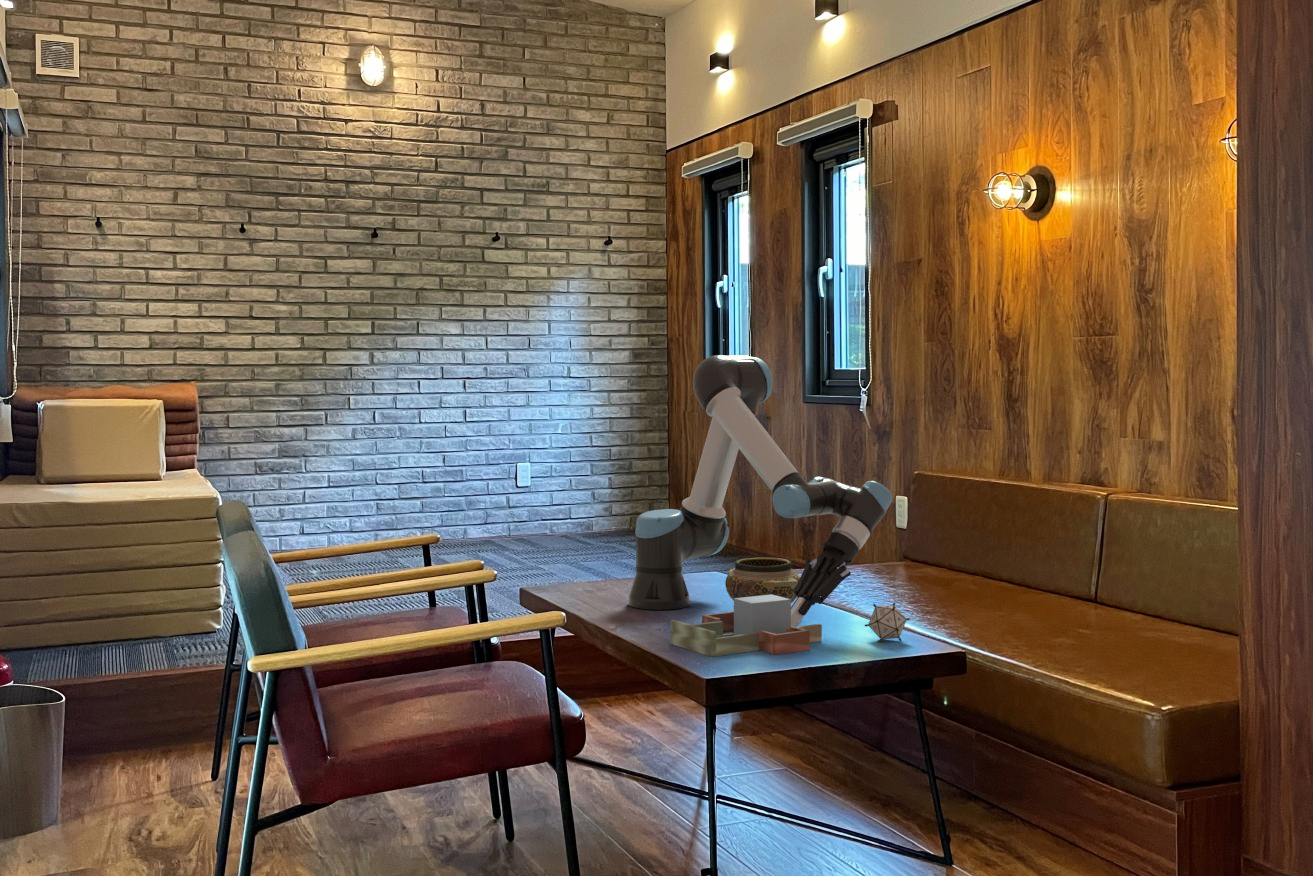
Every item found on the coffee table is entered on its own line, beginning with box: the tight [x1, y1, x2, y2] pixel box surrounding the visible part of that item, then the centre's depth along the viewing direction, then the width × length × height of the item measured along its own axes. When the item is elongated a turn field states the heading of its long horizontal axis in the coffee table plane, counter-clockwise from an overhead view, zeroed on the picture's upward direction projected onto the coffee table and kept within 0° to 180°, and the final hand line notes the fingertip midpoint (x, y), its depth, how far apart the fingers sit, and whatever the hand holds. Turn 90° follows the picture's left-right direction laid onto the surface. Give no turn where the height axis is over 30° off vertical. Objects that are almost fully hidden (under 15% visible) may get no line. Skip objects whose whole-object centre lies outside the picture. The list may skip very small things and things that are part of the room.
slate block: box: [733, 595, 792, 636], centre depth 262 cm, size 7×10×9 cm
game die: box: [863, 601, 911, 643], centre depth 262 cm, size 9×8×10 cm
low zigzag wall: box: [670, 610, 823, 658], centre depth 260 cm, size 26×29×5 cm
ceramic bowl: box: [724, 556, 801, 604], centre depth 291 cm, size 24×18×15 cm
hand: (788, 624), depth 264 cm, fingers closed
